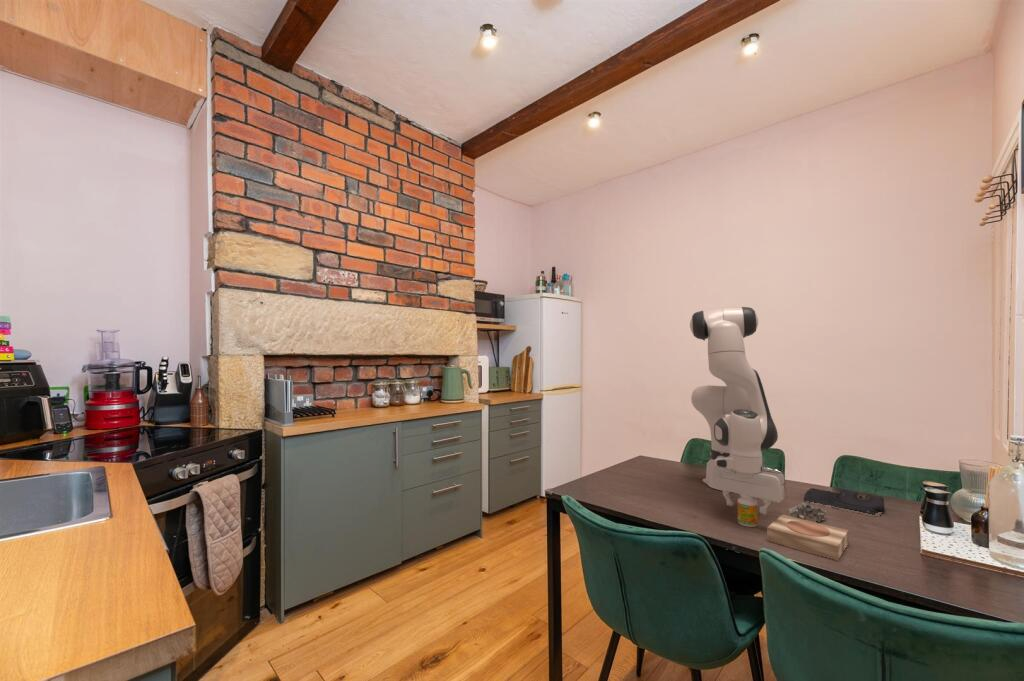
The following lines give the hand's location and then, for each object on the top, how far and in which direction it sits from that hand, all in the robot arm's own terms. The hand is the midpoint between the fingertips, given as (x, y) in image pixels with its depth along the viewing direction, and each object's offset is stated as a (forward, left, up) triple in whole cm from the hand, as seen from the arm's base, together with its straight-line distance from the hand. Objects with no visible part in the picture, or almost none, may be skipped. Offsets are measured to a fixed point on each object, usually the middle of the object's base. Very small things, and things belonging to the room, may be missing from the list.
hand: (746, 509), depth 133 cm
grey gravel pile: (-18, +12, -5) cm, 22 cm away
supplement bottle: (0, 0, -5) cm, 5 cm away
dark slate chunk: (-43, +17, -5) cm, 46 cm away
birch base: (+2, +16, -4) cm, 17 cm away
